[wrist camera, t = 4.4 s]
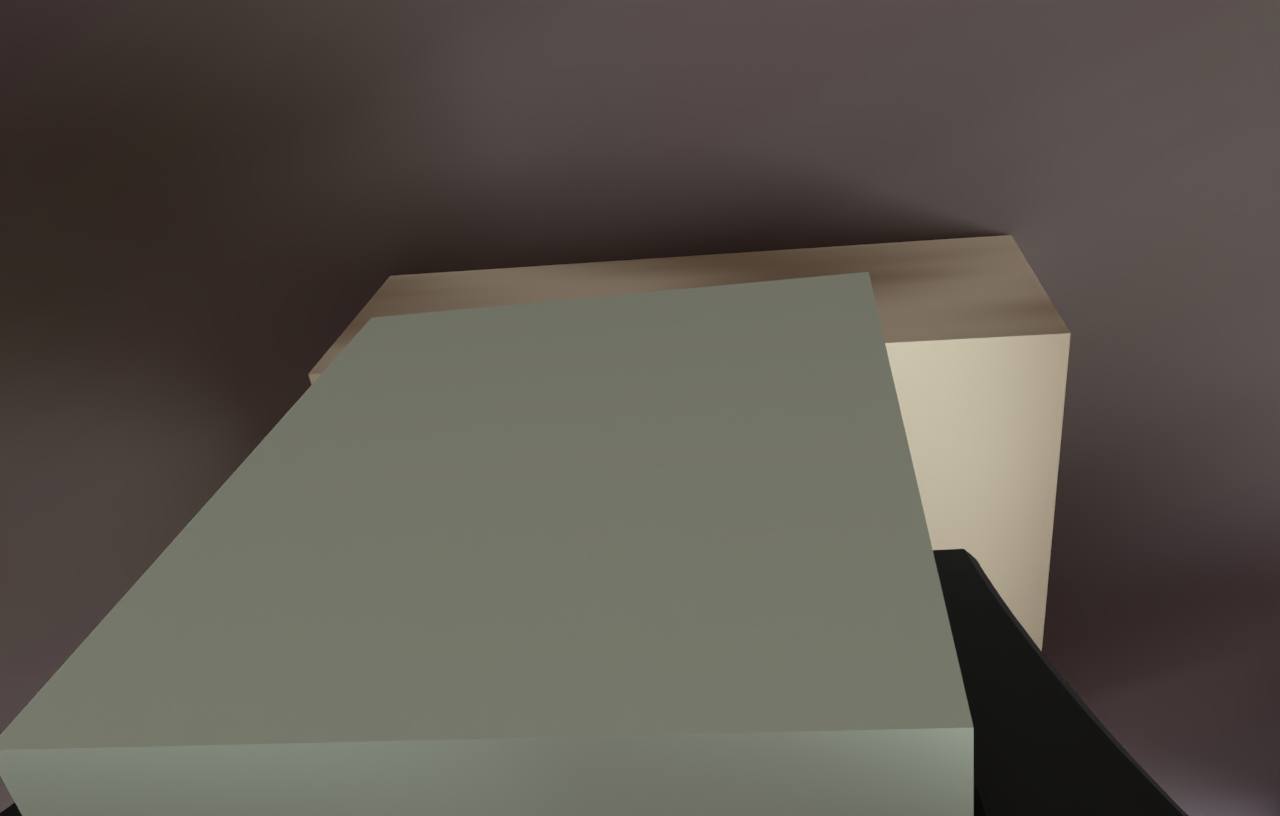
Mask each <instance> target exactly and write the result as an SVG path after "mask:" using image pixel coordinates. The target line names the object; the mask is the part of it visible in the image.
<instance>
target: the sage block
mask: <svg viewBox="0 0 1280 816" xmlns="http://www.w3.org/2000/svg"><path fill="white" fill-rule="evenodd" d="M0 776H1V778H2V780H3V781H4V783H5V785H6V787H7V789H8V791H9V792H10V794H11V796H12V798H13V800H14V802H15V803H16V805H17V807H18V809H19V811H20V813H21V814H22V816H974V727H973V723H972V718H971V714H970V710H969V705H968V701H967V697H966V692H965V688H964V684H963V679H962V675H961V671H960V666H959V662H958V658H957V653H956V649H955V645H954V640H953V636H952V632H951V627H950V623H949V619H948V614H947V610H946V606H945V601H944V597H943V593H942V588H941V584H940V580H939V575H938V571H937V567H936V562H935V558H934V553H933V549H932V545H931V540H930V536H929V532H928V527H927V523H926V519H925V514H924V510H923V506H922V501H921V497H920V493H919V488H918V484H917V480H916V475H915V471H914V467H913V462H912V458H911V454H910V449H909V445H908V441H907V436H906V432H905V428H904V423H903V419H902V415H901V410H900V406H899V402H898V397H897V393H896V389H895V384H894V380H893V375H892V371H891V367H890V362H889V358H888V354H887V349H886V345H885V341H884V336H883V332H882V328H881V323H880V319H879V315H878V310H877V306H876V302H875V297H874V293H873V289H872V284H871V280H870V276H869V272H861V273H850V274H839V275H829V276H818V277H807V278H796V279H785V280H774V281H764V282H753V283H742V284H731V285H720V286H709V287H698V288H688V289H677V290H666V291H655V292H644V293H633V294H623V295H612V296H601V297H590V298H579V299H568V300H557V301H547V302H536V303H525V304H514V305H503V306H492V307H482V308H471V309H460V310H449V311H438V312H427V313H416V314H406V315H395V316H384V317H373V318H371V319H370V320H369V321H368V322H367V323H366V324H365V326H364V327H363V328H362V329H361V330H360V331H359V332H358V333H357V335H356V336H355V337H354V338H353V339H352V340H351V341H350V342H349V344H348V345H347V346H346V347H345V348H344V349H343V350H342V351H341V353H340V354H339V355H338V356H337V357H336V358H335V359H334V360H333V362H332V363H331V364H330V365H329V366H328V367H327V368H326V369H325V371H324V372H323V373H322V374H321V375H320V376H319V377H318V378H317V379H316V381H315V382H314V383H313V384H312V385H311V386H310V387H309V388H308V390H307V391H306V392H305V393H304V394H303V395H302V396H301V397H300V399H299V400H298V401H297V402H296V403H295V404H294V405H293V406H292V408H291V409H290V410H289V411H288V412H287V413H286V414H285V415H284V417H283V418H282V419H281V420H280V421H279V422H278V423H277V424H276V426H275V427H274V428H273V429H272V430H271V431H270V432H269V433H268V435H267V436H266V437H265V438H264V439H263V440H262V441H261V442H260V444H259V445H258V446H257V447H256V448H255V449H254V450H253V451H252V453H251V454H250V455H249V456H248V457H247V458H246V459H245V460H244V462H243V463H242V464H241V465H240V466H239V467H238V468H237V469H236V471H235V472H234V473H233V474H232V475H231V476H230V477H229V478H228V480H227V481H226V482H225V483H224V484H223V485H222V486H221V487H220V489H219V490H218V491H217V492H216V493H215V494H214V495H213V496H212V498H211V499H210V500H209V501H208V502H207V503H206V504H205V505H204V507H203V508H202V509H201V510H200V511H199V512H198V513H197V514H196V516H195V517H194V518H193V519H192V520H191V521H190V522H189V523H188V524H187V526H186V527H185V528H184V529H183V530H182V531H181V532H180V533H179V535H178V536H177V537H176V538H175V539H174V540H173V541H172V542H171V544H170V545H169V546H168V547H167V548H166V549H165V550H164V551H163V553H162V554H161V555H160V556H159V557H158V558H157V559H156V560H155V562H154V563H153V564H152V565H151V566H150V567H149V568H148V569H147V571H146V572H145V573H144V574H143V575H142V576H141V577H140V578H139V580H138V581H137V582H136V583H135V584H134V585H133V586H132V587H131V589H130V590H129V591H128V592H127V593H126V594H125V595H124V596H123V598H122V599H121V600H120V601H119V602H118V603H117V604H116V605H115V607H114V608H113V609H112V610H111V611H110V612H109V613H108V614H107V616H106V617H105V618H104V619H103V620H102V621H101V622H100V623H99V625H98V626H97V627H96V628H95V629H94V630H93V631H92V632H91V634H90V635H89V636H88V637H87V638H86V639H85V640H84V641H83V643H82V644H81V645H80V646H79V647H78V648H77V649H76V650H75V652H74V653H73V654H72V655H71V656H70V657H69V658H68V659H67V661H66V662H65V663H64V664H63V665H62V666H61V667H60V668H59V669H58V671H57V672H56V673H55V674H54V675H53V676H52V677H51V678H50V680H49V681H48V682H47V683H46V684H45V685H44V686H43V687H42V689H41V690H40V691H39V692H38V693H37V694H36V695H35V696H34V698H33V699H32V700H31V701H30V702H29V703H28V704H27V705H26V707H25V708H24V709H23V710H22V711H21V712H20V713H19V714H18V716H17V717H16V718H15V719H14V720H13V721H12V722H11V723H10V725H9V726H8V727H7V728H6V729H5V730H4V731H3V732H2V734H1V735H0Z"/></svg>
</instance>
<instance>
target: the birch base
mask: <svg viewBox="0 0 1280 816" xmlns="http://www.w3.org/2000/svg"><path fill="white" fill-rule="evenodd" d="M861 272H869V276H870V280H871V284H872V289H873V293H874V297H875V302H876V306H877V310H878V315H879V319H880V323H881V328H882V332H883V336H884V341H885V345H886V349H887V354H888V358H889V362H890V367H891V371H892V375H893V380H894V384H895V389H896V393H897V397H898V402H899V406H900V410H901V415H902V419H903V423H904V428H905V432H906V436H907V441H908V445H909V449H910V454H911V458H912V462H913V467H914V471H915V475H916V480H917V484H918V488H919V493H920V497H921V501H922V506H923V510H924V514H925V519H926V523H927V527H928V532H929V536H930V540H931V545H932V549H933V550H948V549H965V550H966V551H967V552H968V553H970V554H971V555H972V556H973V557H974V558H976V559H977V561H978V563H979V564H980V566H981V568H982V569H983V571H984V572H985V574H986V575H987V577H988V578H989V580H990V581H991V583H992V584H993V586H994V588H995V589H996V590H997V592H998V593H999V595H1000V596H1001V598H1002V599H1003V601H1004V602H1005V603H1006V605H1007V606H1008V607H1009V609H1010V610H1011V612H1012V613H1013V614H1014V616H1015V617H1016V619H1017V620H1018V621H1019V623H1020V624H1021V625H1022V626H1023V628H1024V629H1025V630H1026V632H1027V633H1028V634H1029V636H1030V637H1031V638H1032V640H1033V641H1034V642H1035V644H1036V645H1037V646H1038V648H1039V649H1040V650H1041V651H1042V643H1043V632H1044V621H1045V610H1046V599H1047V588H1048V577H1049V566H1050V555H1051V544H1052V533H1053V521H1054V510H1055V499H1056V488H1057V477H1058V466H1059V455H1060V444H1061V433H1062V422H1063V411H1064V400H1065V389H1066V378H1067V367H1068V356H1069V345H1070V334H1071V333H1070V331H1069V330H1068V328H1067V326H1066V325H1065V323H1064V322H1063V320H1062V318H1061V317H1060V315H1059V313H1058V312H1057V310H1056V308H1055V307H1054V305H1053V303H1052V302H1051V300H1050V298H1049V297H1048V295H1047V293H1046V292H1045V290H1044V289H1043V287H1042V285H1041V284H1040V282H1039V280H1038V279H1037V277H1036V275H1035V274H1034V272H1033V270H1032V269H1031V267H1030V265H1029V264H1028V262H1027V261H1026V259H1025V257H1024V256H1023V254H1022V252H1021V251H1020V249H1019V247H1018V246H1017V244H1016V242H1015V241H1014V239H1013V237H1012V236H1011V235H1001V236H986V237H971V238H956V239H941V240H925V241H910V242H895V243H880V244H865V245H850V246H834V247H819V248H804V249H789V250H774V251H759V252H743V253H728V254H713V255H698V256H683V257H667V258H652V259H637V260H622V261H607V262H592V263H576V264H561V265H546V266H531V267H516V268H501V269H485V270H470V271H455V272H440V273H425V274H410V275H394V276H390V277H389V278H388V279H387V280H386V281H385V283H384V284H383V285H382V286H381V287H380V289H379V290H378V291H377V292H376V293H375V295H374V296H373V297H372V298H371V299H370V301H369V302H368V303H367V304H366V305H365V307H364V308H363V309H362V310H361V311H360V313H359V314H358V315H357V316H356V317H355V319H354V320H353V321H352V322H351V323H350V325H349V326H348V327H347V328H346V329H345V331H344V332H343V333H342V334H341V335H340V337H339V338H338V339H337V340H336V341H335V343H334V344H333V345H332V346H331V347H330V349H329V350H328V351H327V352H326V353H325V355H324V356H323V357H322V358H321V359H320V360H319V362H318V363H317V364H316V365H315V366H314V368H313V369H312V370H311V371H310V372H309V374H308V375H309V378H310V382H311V385H312V384H313V383H314V382H315V381H316V379H317V378H318V377H319V376H320V375H321V374H322V373H323V372H324V371H325V369H326V368H327V367H328V366H329V365H330V364H331V363H332V362H333V360H334V359H335V358H336V357H337V356H338V355H339V354H340V353H341V351H342V350H343V349H344V348H345V347H346V346H347V345H348V344H349V342H350V341H351V340H352V339H353V338H354V337H355V336H356V335H357V333H358V332H359V331H360V330H361V329H362V328H363V327H364V326H365V324H366V323H367V322H368V321H369V320H370V319H371V318H373V317H384V316H395V315H406V314H416V313H427V312H438V311H449V310H460V309H471V308H482V307H492V306H503V305H514V304H525V303H536V302H547V301H557V300H568V299H579V298H590V297H601V296H612V295H623V294H633V293H644V292H655V291H666V290H677V289H688V288H698V287H709V286H720V285H731V284H742V283H753V282H764V281H774V280H785V279H796V278H807V277H818V276H829V275H839V274H850V273H861Z"/></svg>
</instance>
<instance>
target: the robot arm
mask: <svg viewBox="0 0 1280 816" xmlns="http://www.w3.org/2000/svg"><path fill="white" fill-rule="evenodd" d="M933 553H934V558H935V562H936V567H937V571H938V575H939V580H940V584H941V588H942V593H943V597H944V601H945V606H946V610H947V614H948V619H949V623H950V627H951V632H952V636H953V640H954V645H955V649H956V653H957V658H958V662H959V666H960V671H961V675H962V679H963V684H964V688H965V692H966V697H967V701H968V705H969V710H970V714H971V718H972V723H973V727H974V816H1188V815H1187V814H1186V813H1185V812H1184V811H1183V810H1182V809H1181V808H1180V807H1179V806H1178V805H1177V804H1176V803H1175V802H1174V801H1173V800H1172V799H1171V798H1170V797H1169V796H1168V795H1167V793H1166V792H1165V791H1164V790H1163V789H1162V788H1161V787H1160V786H1159V785H1158V784H1157V783H1156V782H1155V781H1154V780H1153V779H1152V778H1151V777H1150V776H1149V775H1148V774H1147V773H1146V771H1145V770H1144V769H1143V768H1142V767H1141V766H1140V765H1139V764H1138V763H1137V762H1136V761H1135V760H1134V759H1133V758H1132V757H1131V756H1130V754H1129V753H1128V752H1127V751H1126V750H1125V749H1124V748H1123V747H1122V746H1121V745H1120V743H1119V742H1118V741H1117V740H1116V739H1115V738H1114V737H1113V736H1112V735H1111V733H1110V732H1109V731H1108V730H1107V729H1106V728H1105V727H1104V726H1103V724H1102V723H1101V722H1100V721H1099V720H1098V719H1097V717H1096V716H1095V715H1094V714H1093V713H1092V712H1091V710H1090V709H1089V708H1088V707H1087V706H1086V704H1085V703H1084V702H1083V701H1082V700H1081V699H1080V697H1079V696H1078V695H1077V694H1076V693H1075V691H1074V690H1073V689H1072V688H1071V687H1070V686H1069V684H1068V683H1067V682H1066V681H1065V680H1064V679H1063V677H1062V676H1061V675H1060V674H1059V673H1058V671H1057V670H1056V669H1055V668H1054V666H1053V665H1052V664H1051V663H1050V661H1049V660H1048V659H1047V658H1046V656H1045V655H1044V654H1043V653H1042V651H1041V650H1040V649H1039V648H1038V646H1037V645H1036V644H1035V642H1034V641H1033V640H1032V638H1031V637H1030V636H1029V634H1028V633H1027V632H1026V630H1025V629H1024V628H1023V626H1022V625H1021V624H1020V623H1019V621H1018V620H1017V619H1016V617H1015V616H1014V614H1013V613H1012V612H1011V610H1010V609H1009V607H1008V606H1007V605H1006V603H1005V602H1004V601H1003V599H1002V598H1001V596H1000V595H999V593H998V592H997V590H996V589H995V588H994V586H993V584H992V583H991V581H990V580H989V578H988V577H987V575H986V574H985V572H984V571H983V569H982V568H981V566H980V564H979V563H978V561H977V559H976V558H974V557H973V556H972V555H971V554H970V553H968V552H967V551H966V550H965V549H948V550H933ZM0 816H22V814H21V813H20V811H19V809H18V807H17V805H16V803H14V804H12V805H11V806H10V807H8V808H7V809H5V810H4V811H3V812H1V813H0Z"/></svg>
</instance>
